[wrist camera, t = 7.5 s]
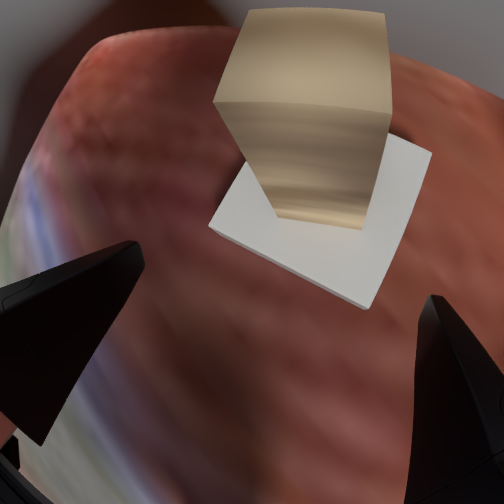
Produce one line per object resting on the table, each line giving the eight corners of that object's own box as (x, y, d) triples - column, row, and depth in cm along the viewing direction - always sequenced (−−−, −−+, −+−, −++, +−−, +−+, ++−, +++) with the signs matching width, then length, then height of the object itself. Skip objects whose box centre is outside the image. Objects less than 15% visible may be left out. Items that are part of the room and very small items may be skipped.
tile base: (424, 168, 21) (432, 152, 19) (364, 310, 20) (368, 309, 18) (290, 114, 25) (286, 96, 22) (220, 235, 24) (207, 225, 22)
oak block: (361, 230, 19) (392, 113, 7) (277, 217, 20) (212, 102, 9) (368, 155, 20) (384, 13, 8) (291, 146, 21) (249, 9, 10)
